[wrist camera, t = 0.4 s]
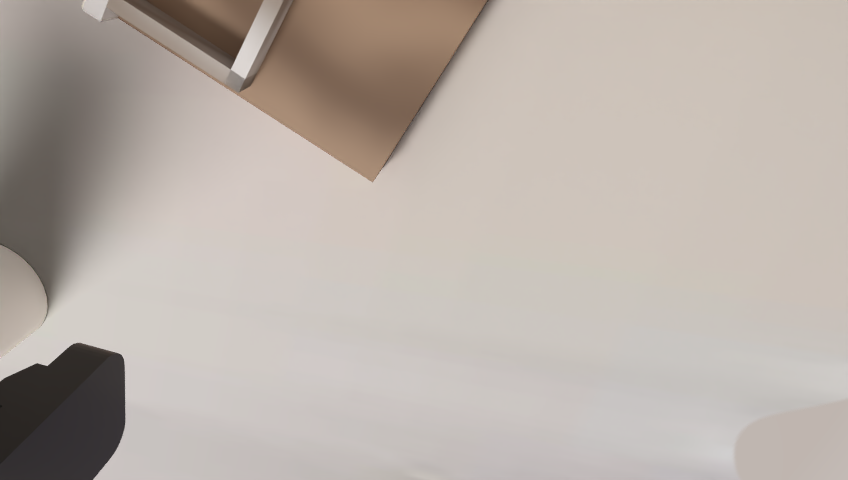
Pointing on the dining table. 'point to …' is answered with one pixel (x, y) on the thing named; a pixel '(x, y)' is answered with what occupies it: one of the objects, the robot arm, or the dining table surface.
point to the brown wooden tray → (314, 60)
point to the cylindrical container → (19, 300)
